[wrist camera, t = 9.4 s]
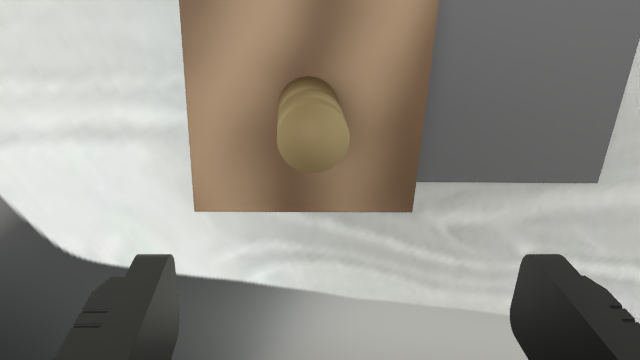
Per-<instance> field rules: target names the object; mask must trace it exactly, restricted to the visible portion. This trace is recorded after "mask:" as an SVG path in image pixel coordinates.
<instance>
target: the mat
mask: <svg viewBox="0 0 640 360" xmlns="http://www.w3.org/2000/svg"><path fill="white" fill-rule="evenodd" d="M639 39H640V0H439V7H438V15H437V23H436V30H435V38H434V46H433V54H432V62H431V70H430V77H429V85H428V93H427V101H426V109H425V116H424V124H423V132H422V140H421V148H420V155H419V163H418V171H417V179H416V182H507V183H598V180H599V176H600V173H601V169H602V166H603V162H604V159H605V156H606V152H607V149H608V145H609V142H610V138H611V135H612V132H613V128H614V125H615V121H616V118H617V114H618V111H619V107H620V104H621V101H622V97H623V94H624V90H625V87H626V83H627V80H628V76H629V73H630V70H631V66H632V63H633V59H634V56H635V52H636V49H637V46H638V42H639Z"/></svg>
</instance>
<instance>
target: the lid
mask: <svg viewBox="0 0 640 360" xmlns="http://www.w3.org/2000/svg"><path fill="white" fill-rule="evenodd" d="M179 6H180V20H181V34H182V47H183V61H184V75H185V89H186V102H187V116H188V130H189V143H190V157H191V171H192V185H193V198H194V212H412V210H413V202H414V194H415V187H416V179H417V171H418V163H419V155H420V148H421V140H422V132H423V124H424V116H425V109H426V101H427V93H428V85H429V77H430V70H431V62H432V54H433V46H434V38H435V30H436V23H437V15H438V7H439V0H179Z"/></svg>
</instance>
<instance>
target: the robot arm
mask: <svg viewBox="0 0 640 360" xmlns="http://www.w3.org/2000/svg"><path fill="white" fill-rule="evenodd" d="M510 323H511V327H512V331H513V334H514V336H515V338H516V339H517V341H518V342H519V344H520V346H521V348H522V349H523V351H524V353H525V354H526V356H527V357H528V360H640V324H639V323H638V322H635V319H634V317H633V316H632V315H631V314H630V313H629V312H628V311H627V310H626V309H622V305H621V304H620V303H619V302H618V301H617V300H616V299H615V298H614V297H613V296H612V294H611V293H610V292H609V291H608V290H607V289H605V288H604V287H602V286H600V285H599V284H597V283H596V282H594V281H592V280H591V279H589V278H588V277H586V276H581V275H580V274H579V273H578V272H577V270H576V269H575V268H574V267H573V266H572V265H571V264H570V263H569V262H568V261H567V260H566V258H564V257H563V256H562V255H559V254H529V255H526V256H525V257H524V258H523V259H522V262H521V265H520V269H519V274H518V278H517V282H516V286H515V291H514V295H513V299H512V303H511V308H510ZM178 331H179V303H178V293H177V282H176V272H175V263H174V258H173V256H172V255H171V254H138V255H136V256H135V258H134V260H133V262H132V264H131V266H130V268H129V270H128V272H127V274H126V276H125V277H111V278H109V279H108V280H107V281H106V282H104V283H103V284H102V285H100V286H99V287H98V288H97V289H96V290H94V291H93V292H92V293H91V295H90V297H89V298H88V300H87V302H86V304H85V305H84V307H83V309H82V313H80V314H79V316H78V317H77V319H76V321H75V323H74V327H73V328H71V330H70V332H69V333H68V335H67V336H66V338H65V340H64V342H63V343H62V345H61V347H60V349H59V350H58V352H57V354H56V355H55V357H54V359H53V360H171V359H172V355H173V352H174V348H175V344H176V341H177V336H178Z"/></svg>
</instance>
